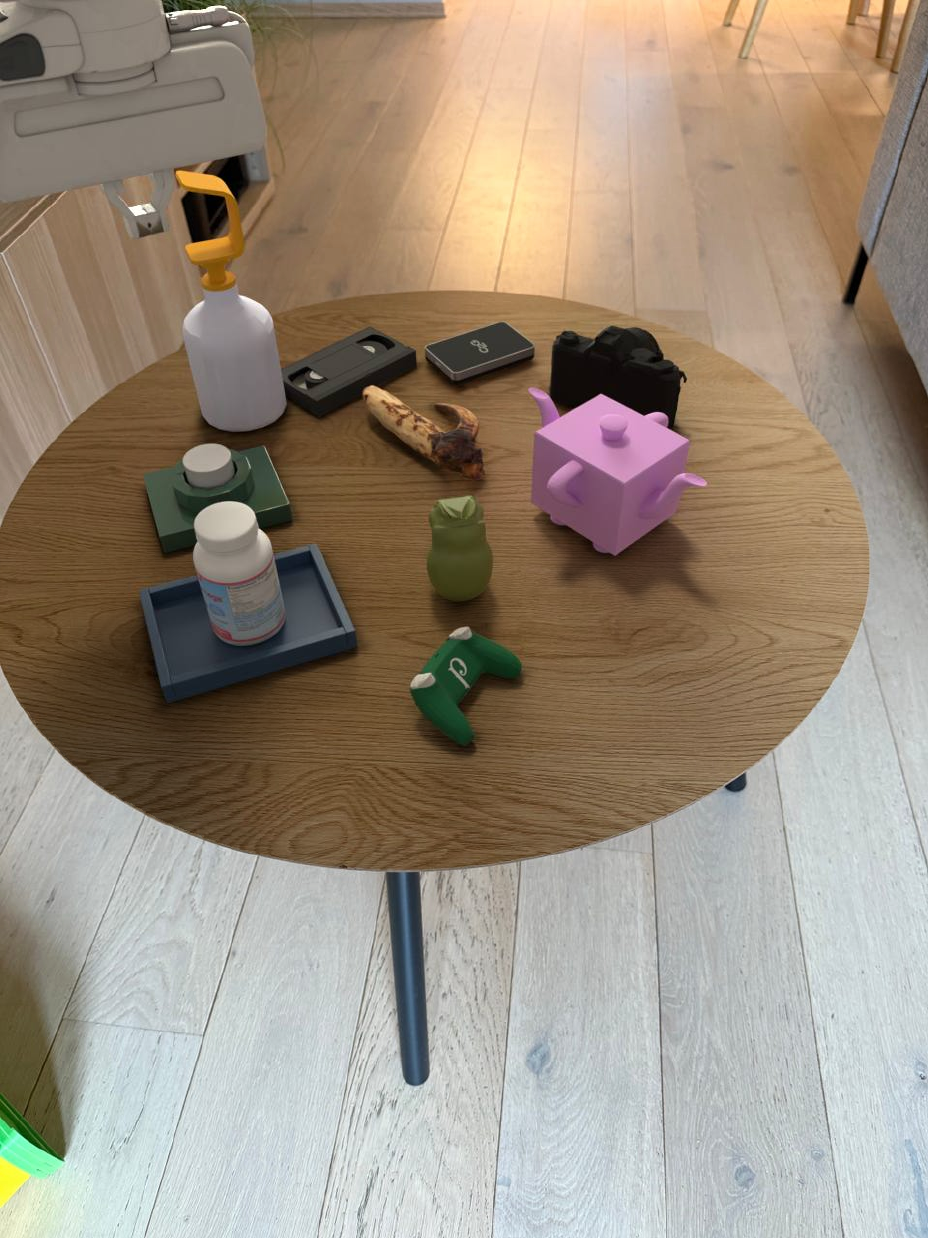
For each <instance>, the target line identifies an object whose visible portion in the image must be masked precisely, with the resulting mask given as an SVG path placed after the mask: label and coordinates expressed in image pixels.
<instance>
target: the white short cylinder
mask: <svg viewBox="0 0 928 1238" xmlns="http://www.w3.org/2000/svg"><path fill="white" fill-rule="evenodd" d="M228 449H229V448H228V447H226V446H225V445H222V444H218V443H204V444H200V445H197V446H194V447H192V448H191V449H189V450H188V451H186V453H185V454H184V455H183V457H182V459H183V466H184V470H185V473H186V477H187V480H188V482H189V484H191V485H192V486H193V487H195V488H206V489H209V488H213V487H217V486H221V485H224V484H226V483H227V482H229V481H230V480H232V479H233V477H234V474H235V469H234V465H233V461H232V456H231V453H230V451H229V450H228Z"/></svg>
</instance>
